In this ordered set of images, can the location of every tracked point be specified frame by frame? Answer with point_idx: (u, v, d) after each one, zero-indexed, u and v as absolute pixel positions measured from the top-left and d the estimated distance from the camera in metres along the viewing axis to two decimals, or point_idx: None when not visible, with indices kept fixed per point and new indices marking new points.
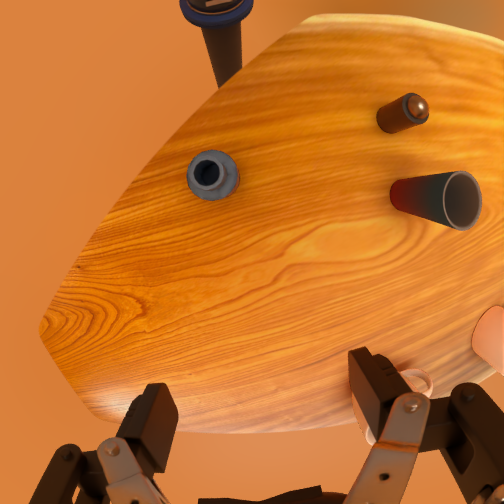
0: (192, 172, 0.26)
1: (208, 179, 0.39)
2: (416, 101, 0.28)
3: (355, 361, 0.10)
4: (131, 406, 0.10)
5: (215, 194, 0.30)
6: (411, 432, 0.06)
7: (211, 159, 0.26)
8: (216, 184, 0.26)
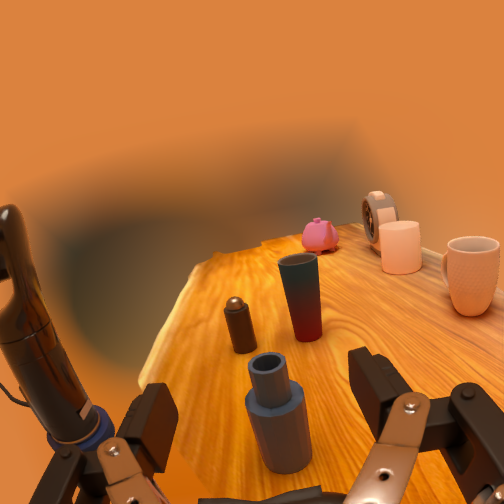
0: (263, 371, 0.22)
1: None
2: (230, 301, 0.50)
3: (355, 361, 0.10)
4: (131, 406, 0.10)
5: (297, 392, 0.24)
6: (411, 432, 0.06)
7: (253, 360, 0.24)
8: (280, 355, 0.24)
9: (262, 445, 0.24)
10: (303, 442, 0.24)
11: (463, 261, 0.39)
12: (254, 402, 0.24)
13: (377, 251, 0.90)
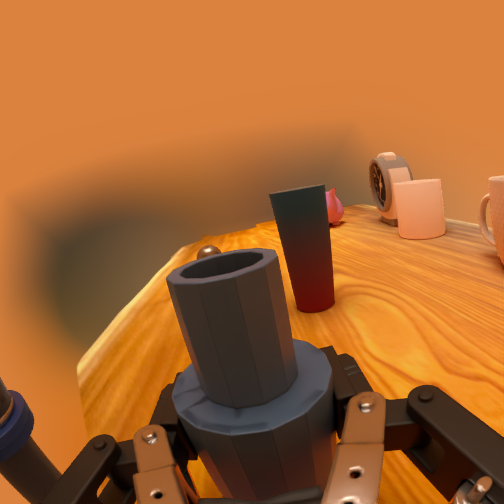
0: (203, 278, 0.07)
1: None
2: (202, 250, 0.35)
3: None
4: (161, 395, 0.11)
5: (311, 364, 0.09)
6: (371, 429, 0.06)
7: (188, 265, 0.09)
8: (263, 250, 0.09)
9: (225, 495, 0.09)
10: (324, 488, 0.08)
11: None
12: (195, 390, 0.09)
13: (389, 221, 0.76)
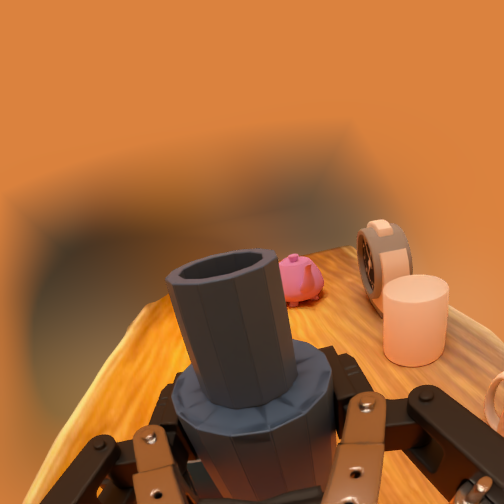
0: (202, 279, 0.07)
1: None
2: None
3: None
4: (161, 395, 0.11)
5: (311, 365, 0.09)
6: (372, 429, 0.06)
7: (187, 265, 0.09)
8: (263, 251, 0.09)
9: (225, 495, 0.09)
10: (324, 489, 0.08)
11: None
12: (195, 390, 0.09)
13: (377, 309, 0.61)
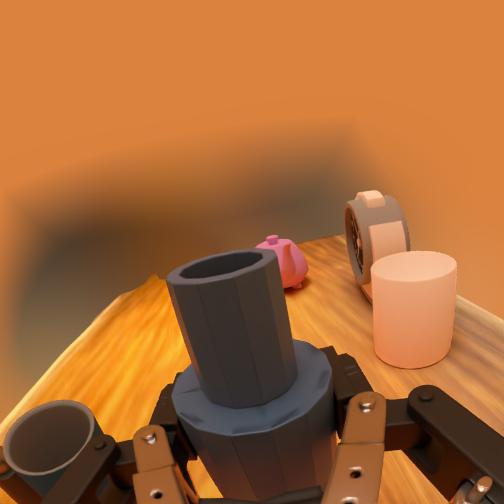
0: (202, 278, 0.07)
1: None
2: None
3: None
4: (161, 395, 0.11)
5: (311, 365, 0.09)
6: (372, 429, 0.06)
7: (187, 265, 0.09)
8: (263, 250, 0.09)
9: (225, 495, 0.09)
10: None
11: None
12: (195, 390, 0.09)
13: (369, 297, 0.52)
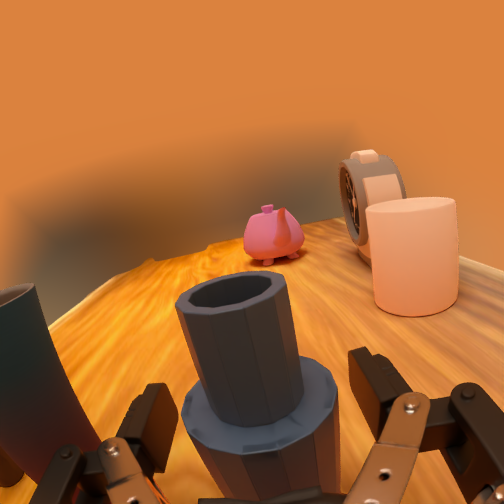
0: (213, 308, 0.07)
1: None
2: None
3: (355, 361, 0.10)
4: (131, 406, 0.10)
5: (317, 383, 0.09)
6: (411, 432, 0.06)
7: (196, 288, 0.09)
8: (271, 274, 0.09)
9: None
10: None
11: None
12: (204, 408, 0.09)
13: (367, 260, 0.50)
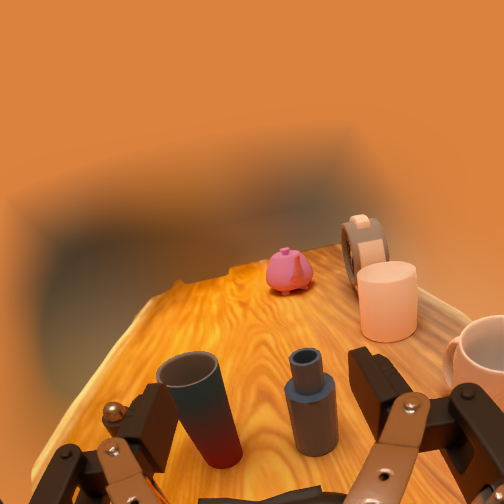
0: (303, 363, 0.26)
1: None
2: (105, 409, 0.29)
3: (355, 361, 0.10)
4: (131, 406, 0.10)
5: (328, 381, 0.28)
6: (411, 432, 0.06)
7: (292, 355, 0.28)
8: (315, 350, 0.28)
9: (298, 430, 0.28)
10: (333, 425, 0.28)
11: (482, 384, 0.18)
12: (293, 391, 0.28)
13: None
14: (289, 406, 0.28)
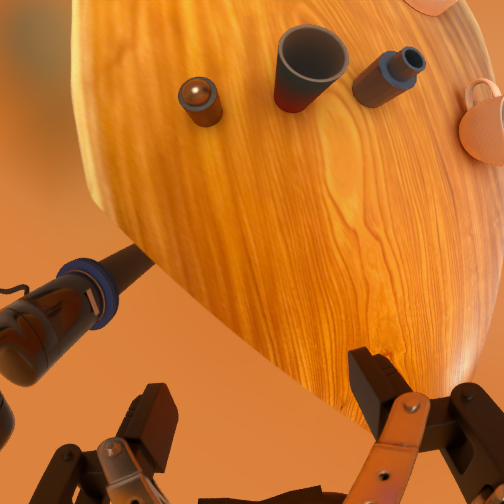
0: (415, 68, 0.23)
1: None
2: (190, 96, 0.27)
3: (355, 361, 0.10)
4: (131, 406, 0.10)
5: None
6: (411, 432, 0.06)
7: (404, 52, 0.23)
8: (420, 54, 0.22)
9: (372, 93, 0.32)
10: None
11: (499, 145, 0.27)
12: (387, 71, 0.27)
13: None
14: (378, 80, 0.28)
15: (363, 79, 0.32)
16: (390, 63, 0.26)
